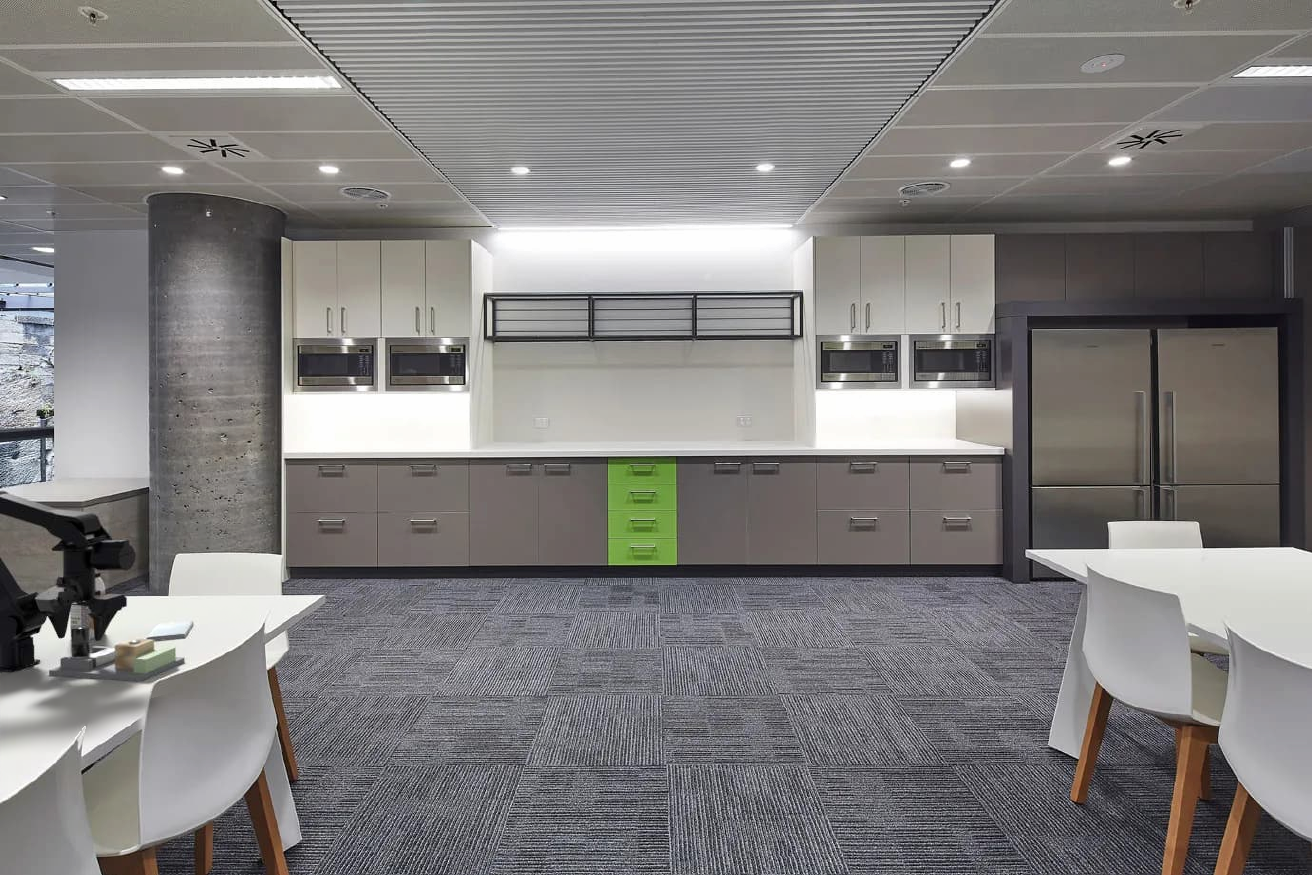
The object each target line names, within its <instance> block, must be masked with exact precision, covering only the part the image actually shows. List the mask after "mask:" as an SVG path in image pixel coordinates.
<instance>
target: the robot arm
mask: <svg viewBox="0 0 1312 875" xmlns="http://www.w3.org/2000/svg"><path fill="white" fill-rule="evenodd" d="M0 515H3V516H6V517H10V518H13V519H15V520H16V519H17V520H19V521H23V522H25V523H29V524H31V525H35V526H39V527H41V528H43V529H45V530H46V531H47V532H48V533H49V534H50V535H51V536H53V537H55V538H57V539H59V542H58V543H57V544H56V545H55V546H53V547H52V548H51V551H52V552H62V575H61V576H57V579H56V584H55V585H54V586H52V587H49V588H48V589H46V590H44V591H43V592H42V593H38V592H37V591H35V592H32V593H27V591H24V590H23V589H22V588H21V587H20V585H19V584H18V582H17V580H16V579H15V577H14V576H13V575H12V573H11V571H10V570H9V568H8V567H7V565H6V564H5V562H4V561H3V559H2V558H1V557H0V672H15V671H18V670H21V669H23V668H26V667H27V668H28V667H30V666H32V665H33V666H34V665H35V664H38V663H41V659H37V658H35V644H34V637H33V635H35V634H40V632H41V629H42V627H43V625H44V624H45V623H46V621H47V619H49V621H50V623H51V625H52V627H53V629H54V631H55V633H56V636H57V638H58V639H59V640H60V639H63V638H65V637H66V633H67V630H68V624H69V620H70V610H71V605H79V606H89V609H90V611H91V612H92V613H89V614H88V615H89V616H90V617H92V618H93V621H94V636H95V638H94V640H95V642H99V641H101V640H102V639H103V637H104V636H105V634H106V632H105V631H107V629H108V628H109V626H110V624H111V622H112V620H113V618H114V617H115V616H116V615H117V613H118V611H121V610H122V609H123V608H126V607H128V606H127V604H128V599H127V596H126V595H125V594H122V593H121V594H120V593H119V594H118V593H108V594H105V595H104V596H100V597H97V598H95V596H98V595H101V590H96V578H98V577H100V578H101V572H97V571H129V570H131V568H132V567H133V566H134V564H135V562H136V552H135V549H134V547H133V546H132V545H131V544H130V540H129V539H121V540H117V539H116V540H114V539H113V537H112V536H111V535H110V534H109V533H108V531H107V530H106V529H105V528H104V526H103V525H102V524H101V521H100V519H99V516H98V515H96V514H95V513H92V512H88V511H87V512H86V511H80V510H67V509H57V508H55V507H51V506H49V505H45V504H43V503H39V502H36V501H33V500H31V499H26V498H24V497H20V496H17V495H15V494H11V493H9V492H7V491H5V490H1V489H0ZM83 601H86V602H83ZM104 633H105V634H104Z"/></svg>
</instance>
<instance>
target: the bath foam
mask: <svg viewBox="0 0 1312 875" xmlns="http://www.w3.org/2000/svg"><path fill="white" fill-rule="evenodd" d="M96 590H101V595H98V596H95V598H97V597H100V596H104V595H106V586H105V582H104V580H103V579H102V578H101V576H100V577H98V578H96ZM83 602H86V601H83ZM89 613H92V612H91V611H90V609H89V606H79V605H71V610H70V615H69V620H70V621H69V622H70V623H69V624H70V625H69V626H70V630H71V629H72V628H74V627H79V626H89V636H90V640H95V636H94V621H93V618H92V617H90V616H89V615H88V614H89ZM106 631H107V630H106ZM106 631H105V633H104V635H105V634H106Z"/></svg>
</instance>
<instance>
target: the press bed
mask: <svg viewBox="0 0 1312 875" xmlns="http://www.w3.org/2000/svg"><path fill="white" fill-rule="evenodd" d="M107 648H113V649H115V646H114V647H113V646H102V645H101V646H100V645H95V646H92V648H91V654H94V653H97V652H99V651H102V650H105V649H107ZM176 651H177V650H176V647H174V646H162V647H159V648H157V649H154V651H151V652H149V653H146V654H144V655H141V656H139V657H136V658H134V669H119V668H115V660H113V661H110V662H108V663H105V664H103V665H100V666H98V667H93V659H84V658H70V656H69V657H68V656H67V657H66V656H64V657H61V658H60V659H59V660H60V662H59V663H60V666H57V667H54V668H51V669H48V675H49V676H61V677H62V676H63V677H74V678H87V679H88V678H89V679H91V678H92V679H100V680H101V679H102V680H103V679H104V680H114V681H116V680H117V681H131V682H143V681H145V680H147V679H149V678H152V677H154V676H156V675H158V674H160V673H163V672H165V671H167V670H169V669H173V668H174V667H176V666H179V665H181V664H183V663H185V657H179V656H176Z"/></svg>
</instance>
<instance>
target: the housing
mask: <svg viewBox="0 0 1312 875" xmlns="http://www.w3.org/2000/svg"><path fill="white" fill-rule="evenodd" d="M114 647H115V668H119V669H134V658H136V657H139V656H141V655H144V654H146V653H149V652H151V651H154V650H155V641H154V640H150V639H146V638H132V639H129V640H126V641H124V642H120V643H118V644H115V645H114Z"/></svg>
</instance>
